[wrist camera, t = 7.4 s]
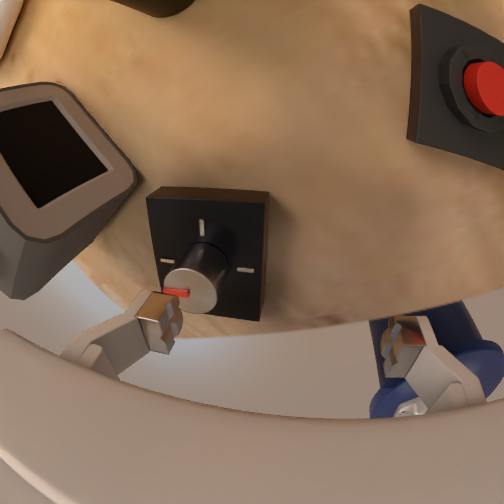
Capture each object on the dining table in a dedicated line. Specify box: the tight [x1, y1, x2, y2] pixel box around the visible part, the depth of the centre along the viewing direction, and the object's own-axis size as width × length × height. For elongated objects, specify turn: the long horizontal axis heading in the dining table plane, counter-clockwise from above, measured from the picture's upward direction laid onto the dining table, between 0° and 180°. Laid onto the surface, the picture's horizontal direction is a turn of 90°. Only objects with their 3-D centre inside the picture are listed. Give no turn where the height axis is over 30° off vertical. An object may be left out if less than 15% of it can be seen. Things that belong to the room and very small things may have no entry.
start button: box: [463, 62, 504, 116], centre depth 11 cm, size 4×4×2 cm
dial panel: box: [146, 187, 269, 322], centre depth 26 cm, size 12×10×3 cm
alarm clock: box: [0, 82, 137, 300], centre depth 18 cm, size 16×11×16 cm
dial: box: [163, 243, 229, 314], centre depth 22 cm, size 4×4×4 cm
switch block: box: [407, 4, 504, 170], centre depth 13 cm, size 12×10×4 cm
